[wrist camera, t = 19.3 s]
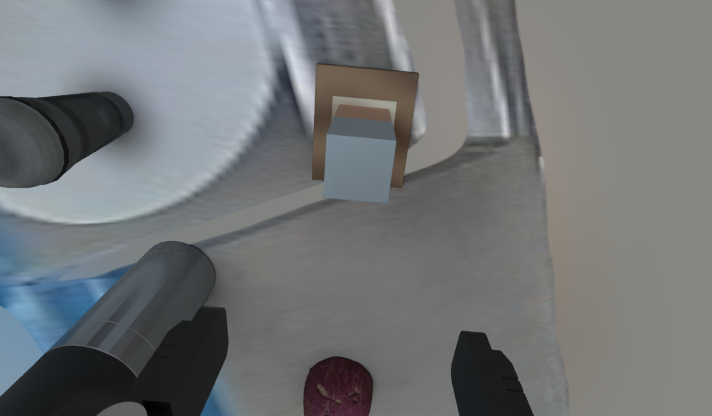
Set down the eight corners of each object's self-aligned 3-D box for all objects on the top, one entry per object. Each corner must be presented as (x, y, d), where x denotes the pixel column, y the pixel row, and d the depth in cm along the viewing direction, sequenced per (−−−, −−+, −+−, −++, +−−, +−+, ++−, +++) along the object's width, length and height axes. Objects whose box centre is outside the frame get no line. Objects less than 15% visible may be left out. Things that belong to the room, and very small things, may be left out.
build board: (401, 183, 42) (402, 188, 41) (313, 175, 42) (311, 180, 41) (417, 72, 37) (419, 74, 36) (317, 63, 37) (315, 64, 36)
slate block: (385, 176, 34) (387, 203, 29) (331, 170, 34) (323, 197, 29) (392, 122, 32) (396, 140, 27) (334, 116, 32) (326, 134, 27)
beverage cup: (73, 128, 41) (-159, 205, 23) (82, 65, 38) (-176, 97, 20) (138, 157, 42) (-35, 252, 24) (152, 97, 39) (-32, 156, 21)
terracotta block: (383, 156, 40) (384, 176, 34) (336, 151, 40) (330, 171, 34) (388, 108, 38) (391, 122, 32) (339, 104, 38) (333, 116, 32)
